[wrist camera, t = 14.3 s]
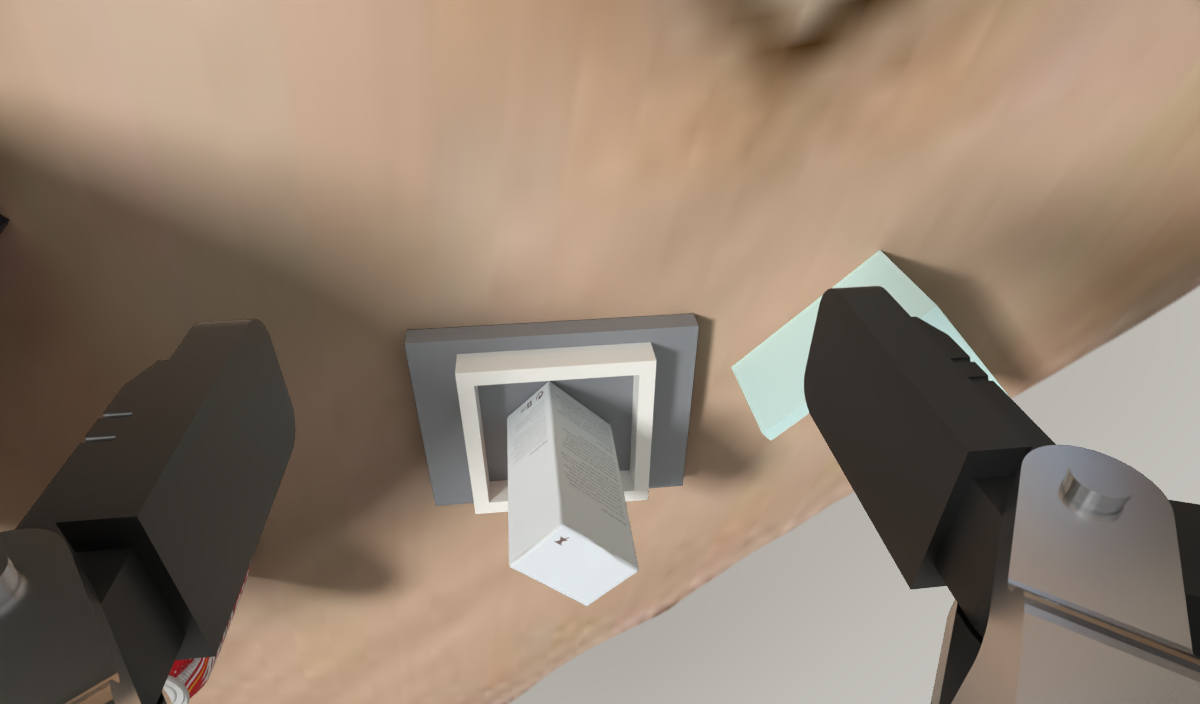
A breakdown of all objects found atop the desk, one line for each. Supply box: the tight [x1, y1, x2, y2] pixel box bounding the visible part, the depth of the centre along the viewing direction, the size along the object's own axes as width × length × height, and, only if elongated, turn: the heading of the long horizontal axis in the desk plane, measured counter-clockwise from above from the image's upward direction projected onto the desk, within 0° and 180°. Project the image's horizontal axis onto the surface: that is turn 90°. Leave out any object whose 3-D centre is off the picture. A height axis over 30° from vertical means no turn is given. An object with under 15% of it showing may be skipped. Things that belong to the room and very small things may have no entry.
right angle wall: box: [731, 250, 1008, 441], centre depth 45 cm, size 12×12×8 cm
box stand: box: [404, 314, 699, 514], centre depth 45 cm, size 18×14×4 cm
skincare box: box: [507, 381, 639, 606], centre depth 41 cm, size 6×4×12 cm
